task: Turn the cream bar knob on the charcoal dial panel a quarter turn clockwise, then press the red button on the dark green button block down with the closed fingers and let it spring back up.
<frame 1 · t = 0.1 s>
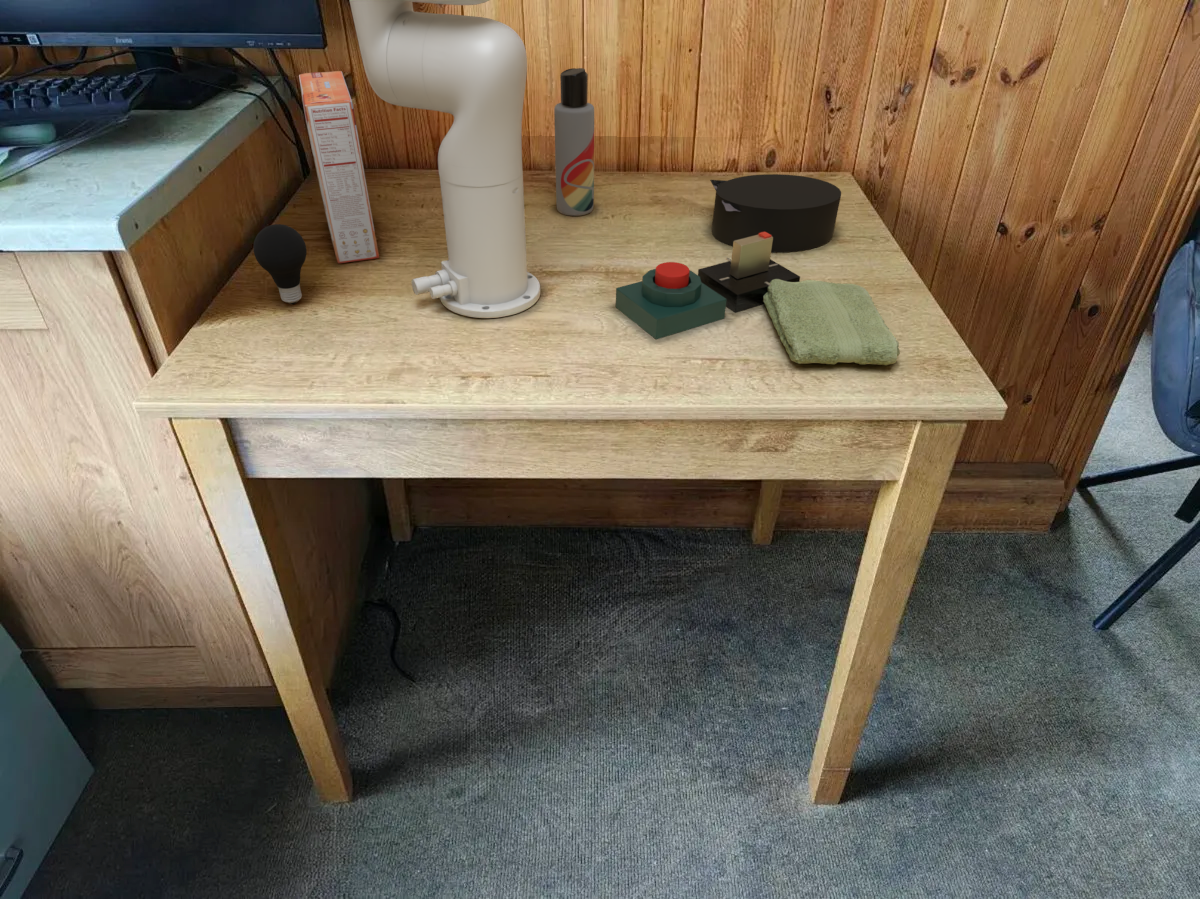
button: (672, 276, 99), point 5 cm above the table, slide at 0.1 cm
washcloth: (825, 332, 99), on the table, touching dial panel
lotion bottle: (575, 210, 128), on the table
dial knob: (751, 255, 104), point 5 cm above the table, hinge at 0.0°
light bulb: (293, 305, 103), on the table
button block: (669, 313, 102), on the table
dial panel: (746, 290, 107), on the table
cracker box: (353, 243, 118), on the table
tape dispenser: (771, 232, 122), on the table
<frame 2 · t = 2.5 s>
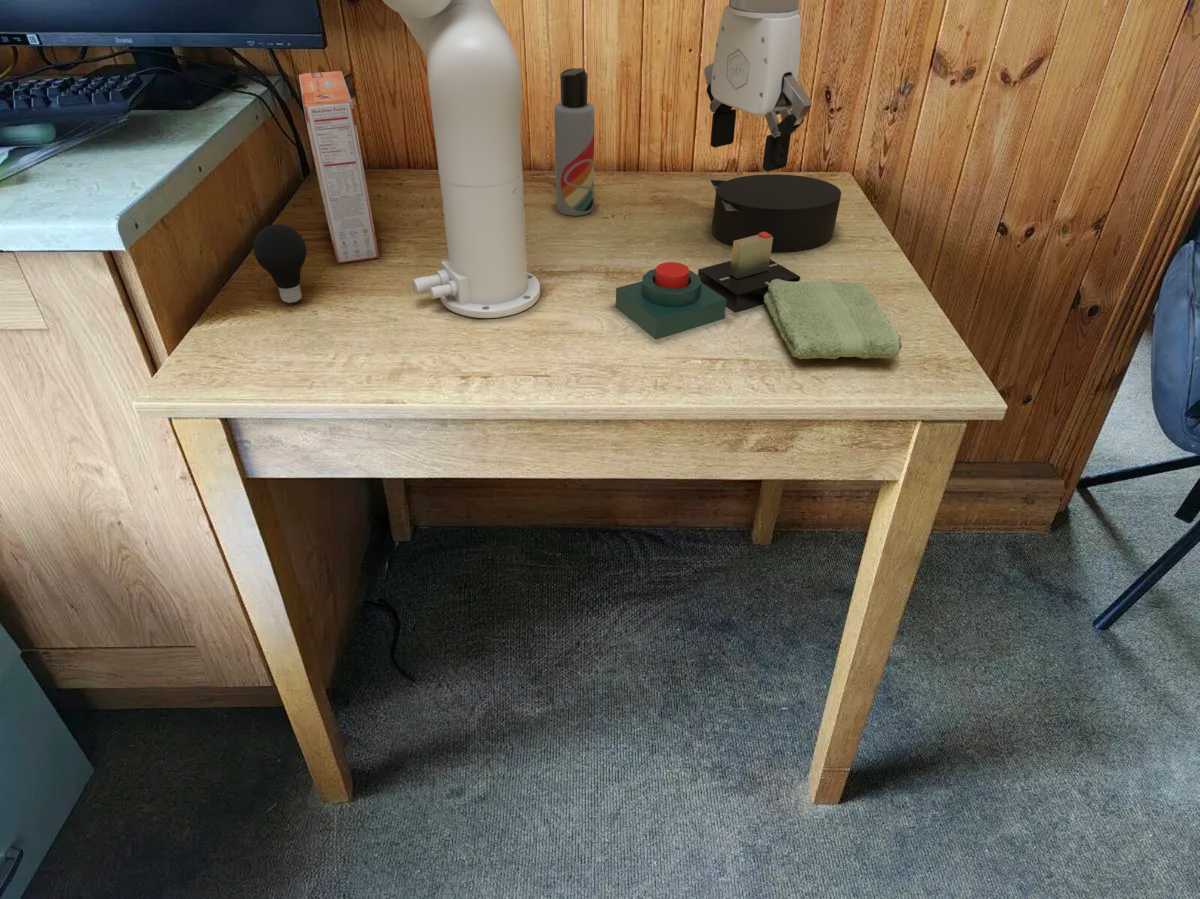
hand: (747, 156, 100), 16 cm above the table, tool pointing down, fingers open, 9 cm apart
nothing on the table moved.
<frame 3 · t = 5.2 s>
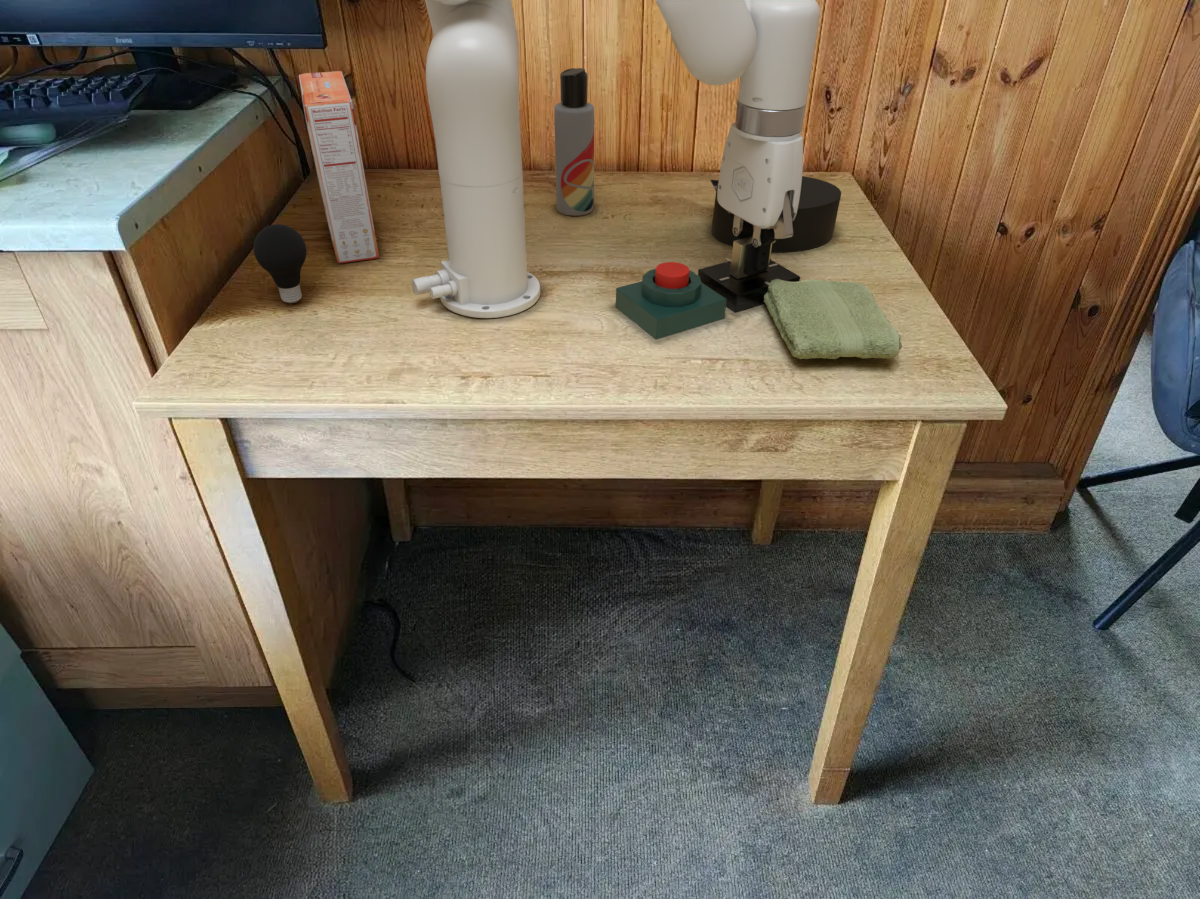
hand: (749, 268, 105), 3 cm above the table, tool pointing down, fingers closed on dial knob
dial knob: (751, 255, 104), point 5 cm above the table, hinge at 0.0°, touching gripper
everything else where it was.
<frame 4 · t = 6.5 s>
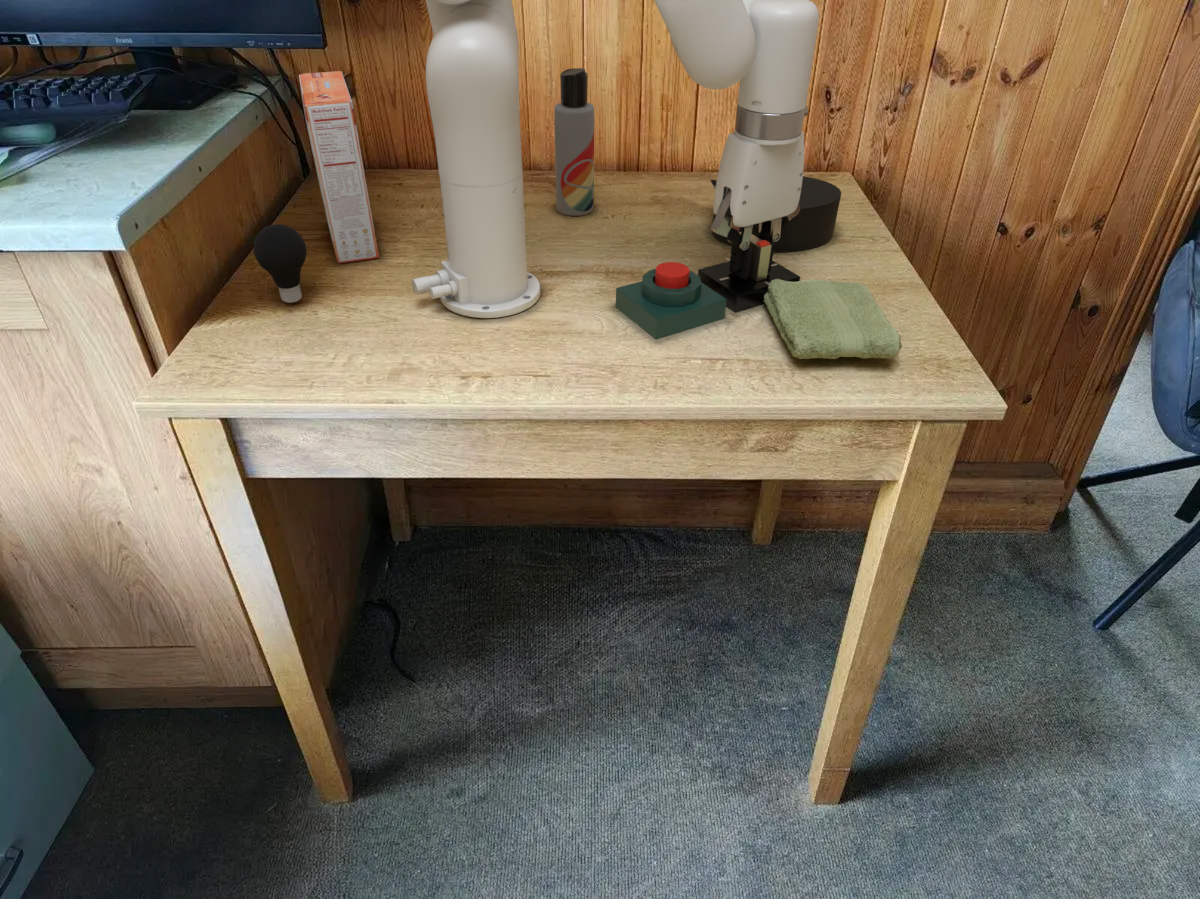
hand: (749, 270, 106), 3 cm above the table, tool pointing down, fingers closed
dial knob: (751, 255, 104), point 5 cm above the table, hinge at -89.6°
everything else where it was.
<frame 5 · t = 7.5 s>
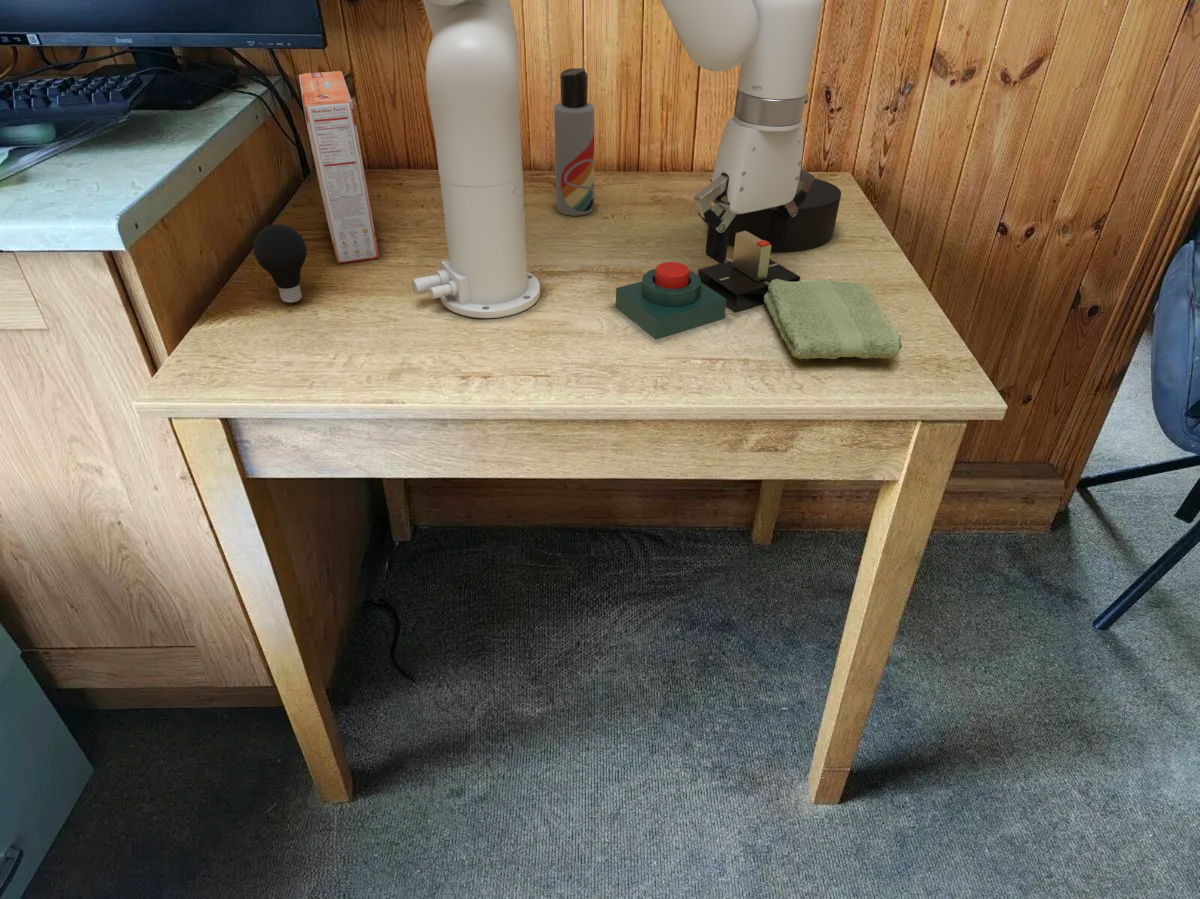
hand: (746, 251, 104), 5 cm above the table, tool pointing down, fingers open, 9 cm apart
nothing on the table moved.
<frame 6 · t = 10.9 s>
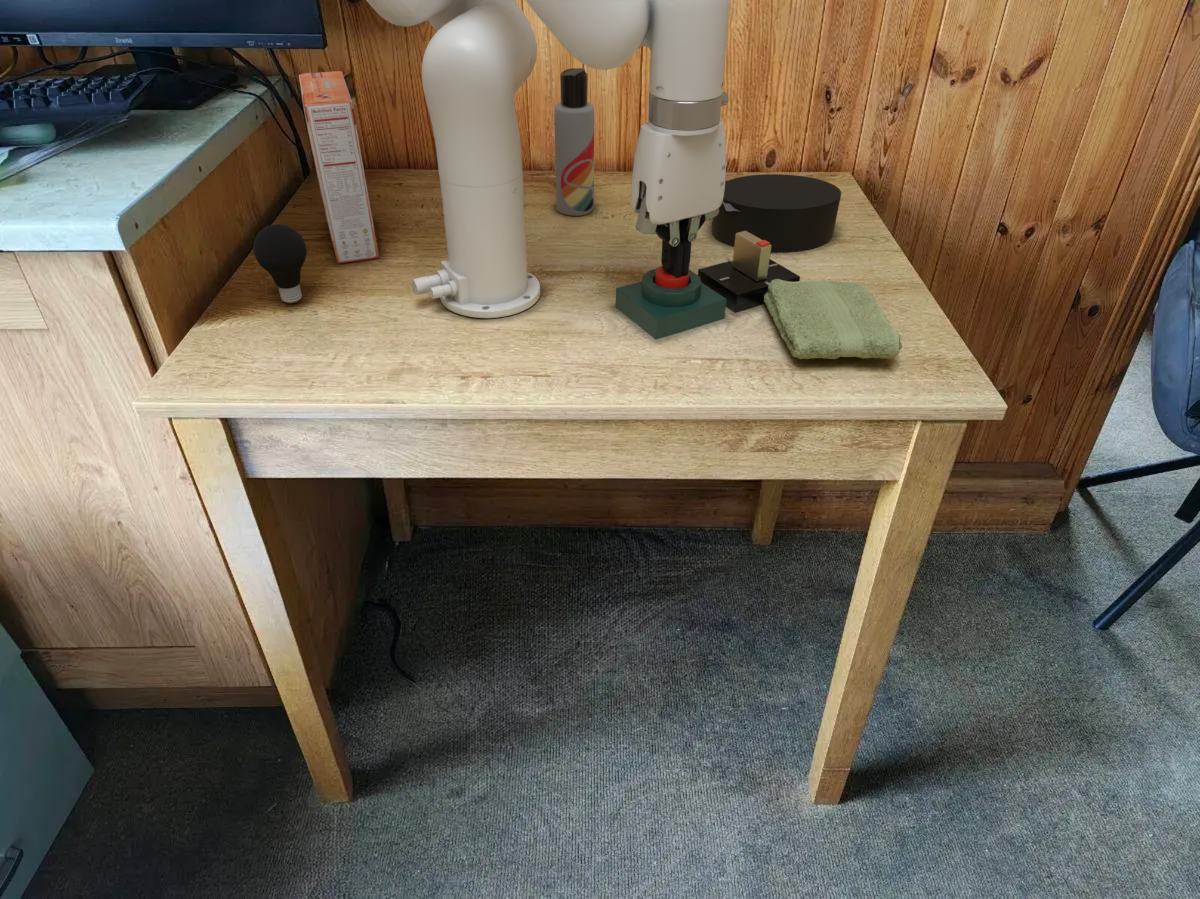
hand: (675, 271, 99), 6 cm above the table, tool pointing down, fingers closed
button: (671, 278, 100), point 5 cm above the table, slide at -0.2 cm, touching gripper
everything else where it was.
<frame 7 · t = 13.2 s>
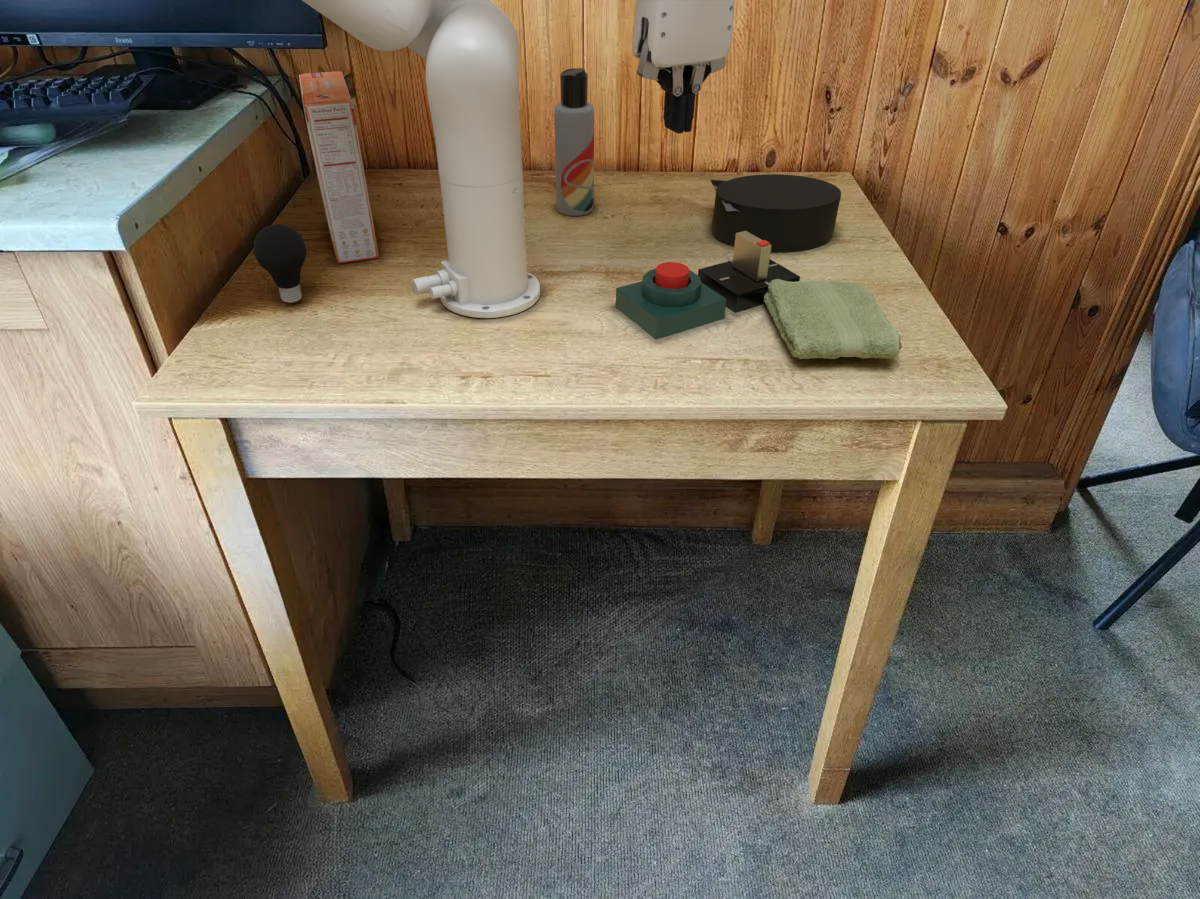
hand: (677, 129, 94), 20 cm above the table, tool pointing down, fingers closed
button: (672, 276, 99), point 5 cm above the table, slide at 0.1 cm
everything else where it was.
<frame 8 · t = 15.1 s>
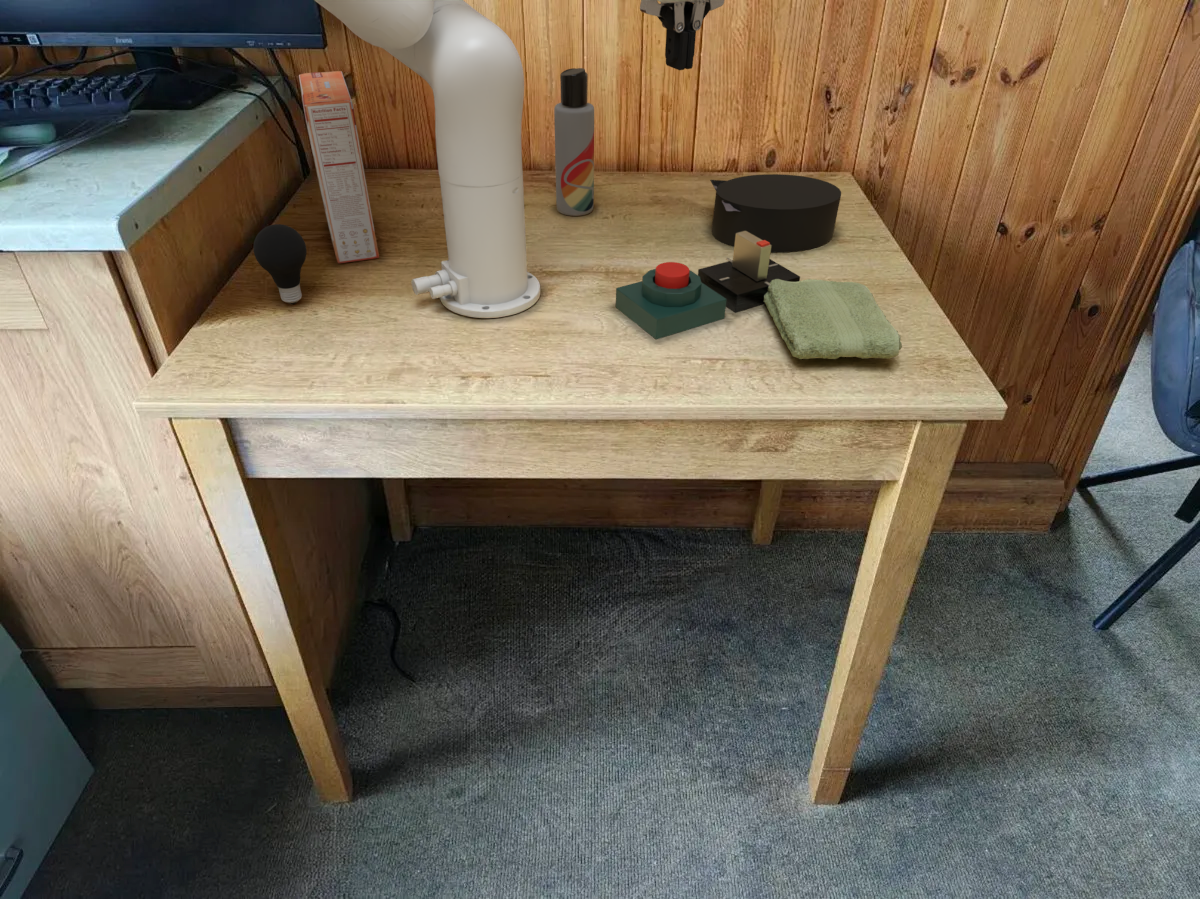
hand: (678, 66, 97), 25 cm above the table, tool pointing down, fingers closed
nothing on the table moved.
at the end: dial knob at -90° (first picture: +0°); button pushed in 1.1 cm at the most during the clip, back to where it started at the end; button slide at 0.1 cm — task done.
